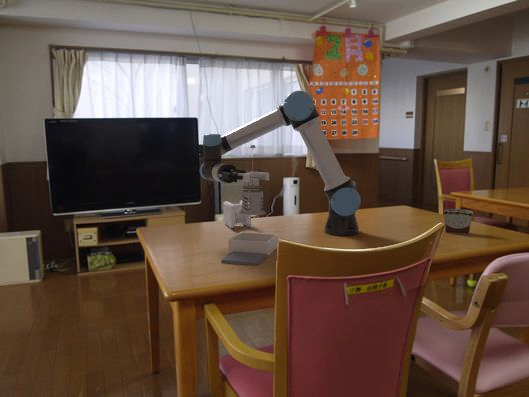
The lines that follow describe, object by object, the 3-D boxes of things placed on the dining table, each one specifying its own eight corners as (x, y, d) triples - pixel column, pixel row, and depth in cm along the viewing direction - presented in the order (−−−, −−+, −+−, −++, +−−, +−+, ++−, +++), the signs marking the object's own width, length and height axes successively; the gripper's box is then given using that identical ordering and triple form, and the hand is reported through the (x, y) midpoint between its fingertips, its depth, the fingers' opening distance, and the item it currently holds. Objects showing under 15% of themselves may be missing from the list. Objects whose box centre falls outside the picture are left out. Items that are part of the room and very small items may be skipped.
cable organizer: (252, 228, 200) (251, 203, 198) (230, 230, 196) (229, 205, 195) (243, 222, 214) (242, 199, 212) (222, 223, 210) (222, 200, 209)
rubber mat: (267, 256, 152) (267, 253, 152) (257, 265, 142) (257, 262, 142) (233, 253, 156) (233, 251, 156) (221, 262, 146) (221, 259, 146)
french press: (244, 215, 151) (244, 144, 148) (233, 210, 162) (234, 144, 158) (269, 214, 155) (270, 145, 152) (257, 209, 166) (258, 144, 162)
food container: (472, 232, 188) (473, 209, 186) (472, 235, 182) (474, 212, 181) (442, 229, 193) (443, 207, 192) (441, 232, 188) (442, 210, 186)
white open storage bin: (278, 246, 166) (278, 234, 165) (268, 256, 153) (268, 242, 152) (241, 244, 170) (241, 231, 170) (228, 252, 158) (228, 239, 157)
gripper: (246, 180, 177) (281, 185, 159) (202, 184, 165) (234, 190, 147) (246, 162, 176) (281, 165, 158) (202, 165, 164) (234, 168, 146)
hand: (258, 177), depth 153 cm, fingers closed on french press, 8 cm apart
